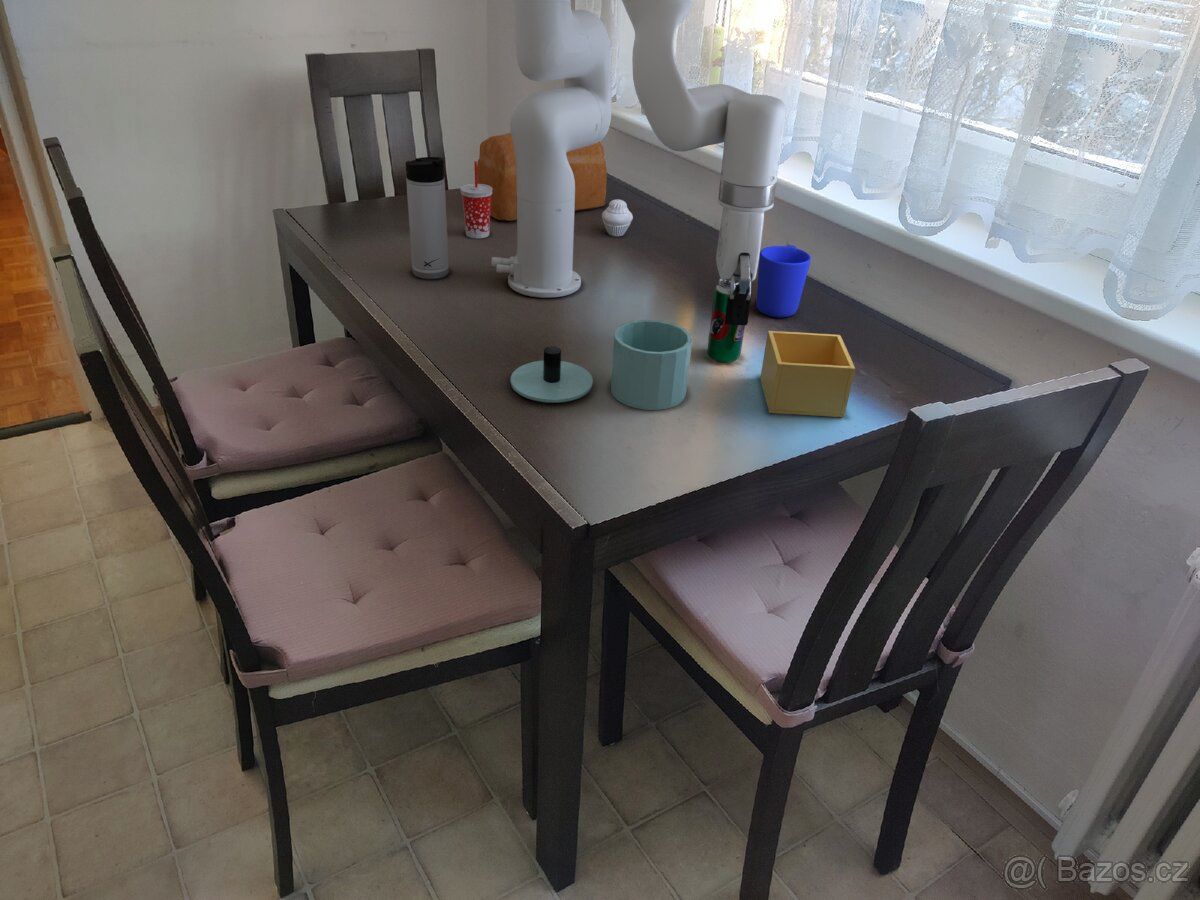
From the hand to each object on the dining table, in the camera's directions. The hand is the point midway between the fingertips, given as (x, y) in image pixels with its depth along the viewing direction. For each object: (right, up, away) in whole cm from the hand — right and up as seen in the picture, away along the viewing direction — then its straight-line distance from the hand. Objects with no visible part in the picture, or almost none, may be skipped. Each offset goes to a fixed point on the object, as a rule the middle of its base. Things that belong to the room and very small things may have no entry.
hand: (732, 310), depth 130 cm
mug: (+11, +4, +21) cm, 24 cm away
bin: (+9, -13, -5) cm, 16 cm away
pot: (-13, -12, -6) cm, 18 cm away
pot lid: (-26, -11, -6) cm, 29 cm away
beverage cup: (-43, +22, +44) cm, 65 cm away
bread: (-32, +31, +60) cm, 75 cm away
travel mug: (-49, +10, +26) cm, 57 cm away
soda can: (-1, -6, +5) cm, 8 cm away
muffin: (-16, +23, +48) cm, 56 cm away
